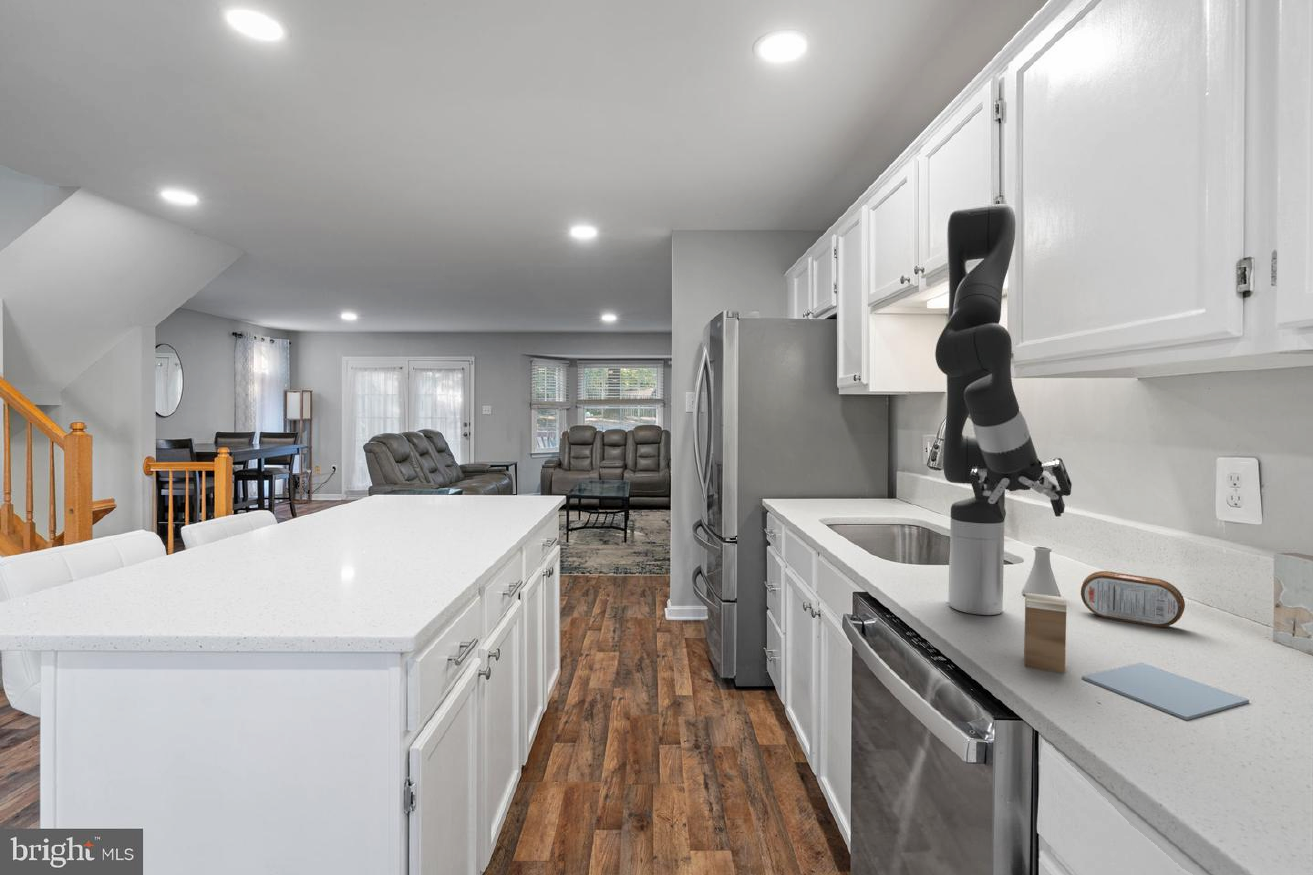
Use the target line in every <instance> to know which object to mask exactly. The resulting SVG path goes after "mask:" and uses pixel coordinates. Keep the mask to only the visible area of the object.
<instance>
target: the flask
mask: <svg viewBox="0 0 1313 875" xmlns="http://www.w3.org/2000/svg"><path fill="white" fill-rule="evenodd" d="M1033 550H1034V560H1033V564H1032V567H1031V569H1030V571H1029V574H1028V576H1027V578H1026V581H1025V583H1024V585H1023V586H1022V589H1021V594H1022V595H1023V596H1025V593H1032V594H1040V595H1049V596H1057V597H1062V595H1061V592H1060V589H1059V587H1058V584H1057V581H1056V579H1055V574H1054V571H1053V569H1052V564H1051V558H1050V557H1051V552H1052V548H1051V547H1048V546H1043V545H1042V546H1039V545H1036V546H1033Z"/></svg>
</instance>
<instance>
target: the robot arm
mask: <svg viewBox="0 0 1313 875" xmlns="http://www.w3.org/2000/svg"><path fill="white" fill-rule="evenodd" d="M1016 225H1017V224H1016V214H1015V210H1014V209H1013V207H1012V206H1011V205H1010V204H1004V203H998V204H992V205H991V204H990V205H983V206H975V207H968V208H963V209H962V208H961V209H958V210H954V211H953V212H952V213H950V215H949V217H948V222H947V227H946V228H947V229H946V251H947V252H946V253H947V274H948V280H947V281H948V314H947V316H948V317H947V319H948V321H947V323H946V324H945V326H944V328H943V329H942V331H941V333H940V335H939V337H938V339H937V343H936V346H935V353H934V354H935V363H936V365H937V367H938V369H939V370H940V371H941V373H943V374H944V375H946V385H947V386H946V387H947V388H946V391H947V392H946V394H947V395H946V401H947V402H946V416H945V417H946V418H945V430H944V441H943V442H944V443H943V456H942V460H943V461H942V462H943V464H942V465H943V474H944V475H943V476H944V478H945V479H946V482H947V481H948V482H949V483H951V484H967V485H968V484H969V485H971V487H972V490H973V494H974V496H972V497H970V498H967V499H966V498H965V499H963V500H959V501H955V502H954V503H952V504H951V507H950V530H949V531H950V542H949V556H948V558H949V559H948V562H949V563H948V601H949V602H948V605H949V607H951V608H952V609H954V610H956V611H959V612H962V613H967V614H973V615H981V616H985V615H986V616H992V615H993V616H995V615H999V614H1002V613H1003V609H1004V607H1003V606H1004V604H1003V603H1004V602H1003V601H1004V600H1003V599H1004V564H1005V561H1004V560H1005V558H1004V557H1005V556H1004V554H1005V518H1006V515H1007V513H1006V509H1005V499H1006V498H1005V497H1006V496H1005V494H1006V490H1007V491H1009V492H1016V491H1019V490H1021V491H1030V490H1031V489H1032V490H1034V491H1035V492H1038V493H1039V494H1043V495H1045V496H1046V497H1047V498H1050V499H1049V501H1050V504H1051V507H1052V510H1053V512H1054V516H1055V517H1062V514H1064V513H1065V507H1066V506H1065V505H1066V504H1065V502H1064V498H1063V497H1064V496H1065V497H1067V496H1070V495H1071V493H1072V485H1073V483H1072V480H1071V478H1070V476H1069V474H1068V471H1067V469H1066V466H1065V463H1064V460H1063V459H1062V458H1061V457H1054V459H1053V461H1049V462H1042V461H1040V459H1039V458H1038V455H1037V451H1036V449H1035V446H1034V443H1033V439H1032V437H1031V434H1030V430H1029V428H1028V424H1027V421H1026V419H1025V416H1024V414H1023V413H1022V411H1021V409H1020V405H1019V403H1018V399H1017V397H1016V393H1015V390H1014V387H1013V381H1012V369H1011V368H1012V365H1011V364H1012V363H1011V362H1012V353H1013V352H1012V349H1013V348H1012V345H1013V344H1012V338H1011V335H1010V332H1009V331H1008V330H1007V329H1006V328H1005V327H1004V326H1003V325H1001V324H999V323H1000V320H1001V317H1002V302H1003V288H1004V283H1005V280H1006V276H1007V273H1008V270H1009V267H1010V262H1011V258H1012V254H1013V250H1014V247H1015V246H1014V245H1015V242H1016V241H1015V239H1016ZM981 259H982V260H981ZM972 260H981V261H980V262H979V263H978V264H977V265H976V266H975V267H973V268H972V269H971V270H970V271H969V272H968V268H967V261H972ZM969 416H970V419H971V422H972V427H973V432H974V435H963V432H964V428H965V424H966V422H967V420H968V417H969ZM1044 472H1048V473H1049V475H1051V477H1055V480H1056V483H1057V484H1058V485H1057V484H1056V483H1054V482H1053V481H1052V480H1050V478H1049V477H1048V476H1046V475H1045V474H1044ZM985 486H986V487H985Z"/></svg>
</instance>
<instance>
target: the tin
mask: <svg viewBox="0 0 1313 875" xmlns="http://www.w3.org/2000/svg"><path fill="white" fill-rule="evenodd" d="M1080 597H1081V600H1082V602H1083V604H1084V606H1085V607H1086V608H1087V609H1088V610H1089V611H1090V612H1092V613H1093V614H1095V615H1096V616H1098V617H1101V618H1106V619H1109V620H1115V621H1122V622H1126V623H1132V624H1137V625H1142V626H1149V627H1154V628H1166V627H1170V626H1173V625H1174V624H1176V623H1177V622H1178V621H1179V620H1180V619H1181V618H1182V617H1183V616H1182V615H1183V613H1184V612H1185V608H1186V603H1185V602H1186V601H1185V599H1184V596H1183V594H1182V593H1181V592H1180V590H1179V588H1178V587H1176V586H1175V585H1174V584H1172V583H1170V582H1168V581H1167V580H1164V579H1161V578H1155V577H1149V576H1143V575H1134V574H1128V573H1123V572H1114V571H1107V570H1102V571H1101V570H1099V571H1095V572H1092V573H1091V574H1089V575H1087V576H1086V578H1085V579H1084V580H1083V582H1082V585H1081V589H1080Z"/></svg>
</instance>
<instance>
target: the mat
mask: <svg viewBox="0 0 1313 875" xmlns="http://www.w3.org/2000/svg"><path fill="white" fill-rule="evenodd" d="M1081 680H1085V681H1086V682H1089V683H1090V684H1091V683H1092V684H1094V685H1096V686H1099V687H1101V688H1104V689H1107V690H1109V691H1112V692H1114V693H1116V694H1118V695H1119V694H1120V695H1121V696H1125V697H1127V698H1129V699H1132V700H1135V701H1137V702H1139V703H1142V704H1144V705H1146V706H1150V707H1152V708H1154V709H1157V710H1159V711H1162V712H1164V713H1167V714H1169V715H1172V714H1173V716H1174V715H1175V717H1177V718H1179V719H1182V720H1185V721H1189V720H1193V719H1196V718H1199V717H1203V716H1207V715H1210V714H1213V713H1217V712H1220V711H1225V710H1227V709H1230V708H1232V709H1233V708H1235V707H1238V706H1241V705H1245V704H1248V703H1249V704H1250V699H1248V698H1246V697H1243V696H1240V695H1238V694H1235V693H1231V692H1229V691H1225V690H1222V689H1220V688H1217V687H1215V686H1214V687H1213V686H1211V685H1208V684H1205V683H1202V682H1199V681H1198V680H1197V681H1196V680H1193V679H1190V678H1188V677H1185V676H1182V675H1179V674H1176V673H1174V672H1170V671H1167V670H1164V669H1162V668H1159V667H1155V666H1153V665H1150V664H1148V663H1147V664H1146V663H1144V662H1138V663H1135V664H1134V663H1133V664H1130V665H1126V666H1125V665H1124V666H1121V667H1116V668H1111V669H1107V670H1102V671H1099V672H1098V671H1097V672H1093V673H1089V674H1084V675H1081Z"/></svg>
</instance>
